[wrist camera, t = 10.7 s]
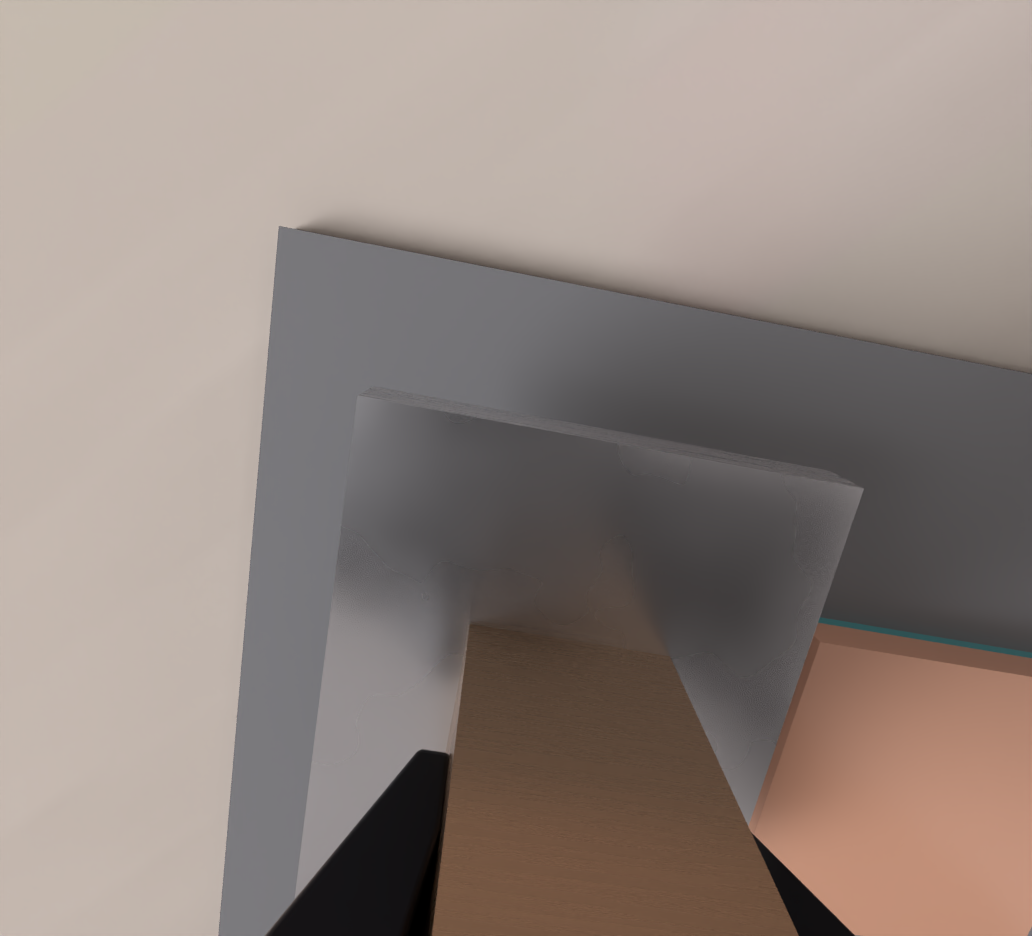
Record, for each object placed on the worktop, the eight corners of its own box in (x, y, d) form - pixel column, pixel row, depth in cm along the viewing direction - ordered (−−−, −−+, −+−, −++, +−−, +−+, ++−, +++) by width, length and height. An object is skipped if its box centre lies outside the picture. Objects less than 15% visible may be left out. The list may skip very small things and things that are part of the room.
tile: (978, 907, 16) (1094, 663, 14) (1016, 956, 14) (1149, 696, 13) (708, 870, 15) (793, 612, 13) (725, 917, 14) (819, 642, 12)
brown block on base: (373, 386, 9) (-12, 615, 2) (828, 469, 10) (1605, 870, 3) (309, 871, 11) (17, 1708, 5) (681, 922, 12) (914, 1761, 5)
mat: (1335, 435, 13) (1373, 441, 13) (997, 1072, 18) (1013, 1098, 17) (290, 230, 12) (279, 226, 11) (223, 977, 17) (212, 1002, 16)
